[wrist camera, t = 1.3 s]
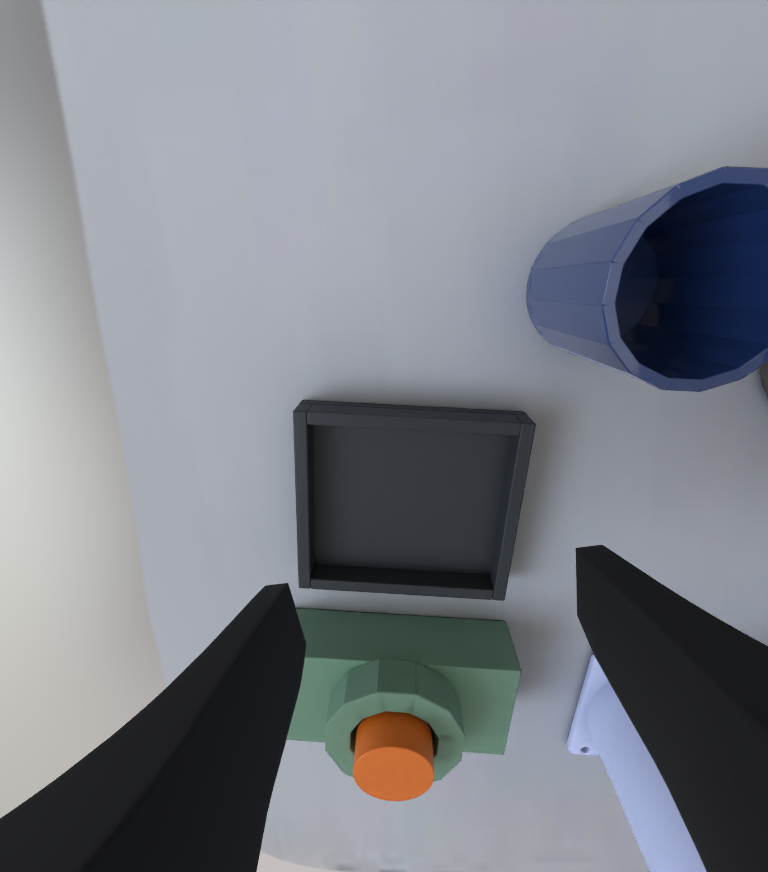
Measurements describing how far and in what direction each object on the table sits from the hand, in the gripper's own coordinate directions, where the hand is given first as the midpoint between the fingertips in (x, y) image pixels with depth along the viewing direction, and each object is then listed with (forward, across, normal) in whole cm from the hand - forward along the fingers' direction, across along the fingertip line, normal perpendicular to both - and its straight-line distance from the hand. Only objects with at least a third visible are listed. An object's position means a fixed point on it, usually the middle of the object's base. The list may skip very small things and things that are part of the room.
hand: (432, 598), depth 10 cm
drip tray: (+10, +1, +2) cm, 10 cm away
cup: (+10, -8, -6) cm, 14 cm away
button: (+5, +3, +12) cm, 14 cm away
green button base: (+10, +3, +12) cm, 16 cm away
